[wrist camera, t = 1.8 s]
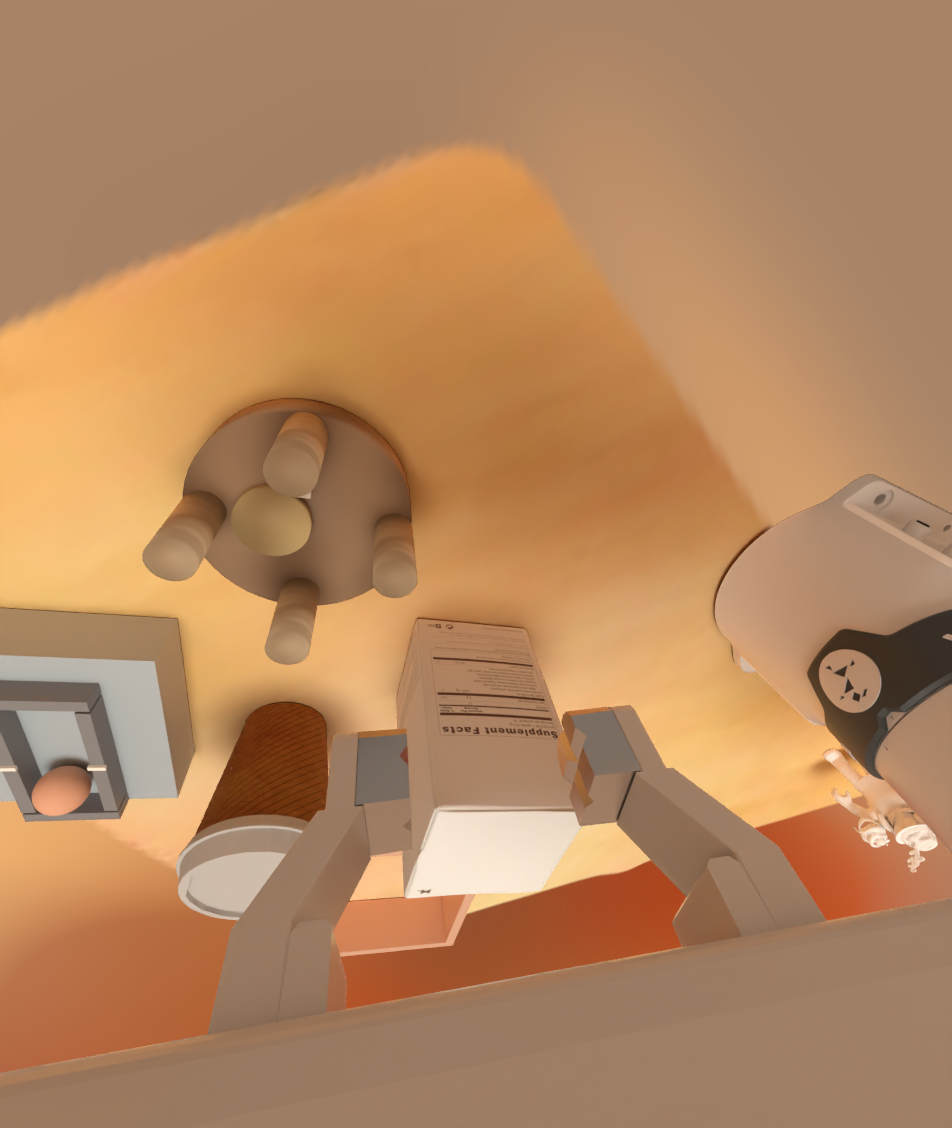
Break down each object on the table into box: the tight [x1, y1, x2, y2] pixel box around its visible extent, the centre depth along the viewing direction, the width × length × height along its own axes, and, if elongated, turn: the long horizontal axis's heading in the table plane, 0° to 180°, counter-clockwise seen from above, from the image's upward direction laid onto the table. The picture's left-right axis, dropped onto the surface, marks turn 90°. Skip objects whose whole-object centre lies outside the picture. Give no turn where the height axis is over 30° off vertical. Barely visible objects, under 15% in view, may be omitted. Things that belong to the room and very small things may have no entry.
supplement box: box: [396, 619, 582, 898], centre depth 33 cm, size 9×9×15 cm
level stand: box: [0, 608, 195, 822], centre depth 32 cm, size 12×14×6 cm
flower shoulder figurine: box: [823, 749, 938, 872], centre depth 51 cm, size 9×4×12 cm, turn 136°
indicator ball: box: [32, 766, 92, 816], centre depth 32 cm, size 3×3×3 cm
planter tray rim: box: [334, 851, 475, 956], centre depth 51 cm, size 21×22×5 cm
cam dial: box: [143, 399, 417, 665], centre depth 26 cm, size 12×12×8 cm
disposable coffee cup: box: [176, 702, 328, 920], centre depth 35 cm, size 10×10×12 cm
